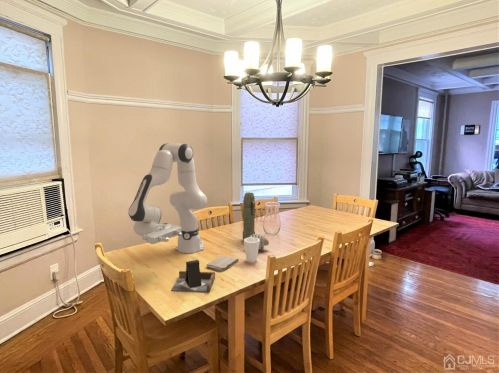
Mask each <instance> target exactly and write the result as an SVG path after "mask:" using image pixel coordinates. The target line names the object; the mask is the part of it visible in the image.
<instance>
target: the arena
mask: <svg viewBox="0 0 499 373" xmlns="http://www.w3.org/2000/svg"><path fill="white" fill-rule="evenodd" d="M185 274H186V270H179V272H178V278H177V279H176V281H175V283H174V285H173V286H172V288H171V290H170V291H171V292H186V293H187V292H188V293H206V294H207V293H208V294H209V293H211V290H212V287H213V284H214V283H215V282H214V281H215V279H216V271H212V272H211V271H200V276H201V284H202V286H197V287H193V288H190V287H189V286H188V284H187V283H186V282H185Z"/></svg>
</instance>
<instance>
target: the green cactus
mask: <svg viewBox="0 0 499 373" xmlns="http://www.w3.org/2000/svg"><path fill="white" fill-rule="evenodd" d="M255 200H256V199H255V194H254V193H253V192H245V193H244V196H243V200H242V202H243V206H242V207H243V209H242V218H243V219H242V220H243V221H242V222H243V226H242V227H243V229H242V230H243V231H242V242H243V241H244V239H245V238H249V237H250V235H252V236H253V234H255V235H256V231H255V223H256V222H255V219H256V201H255Z"/></svg>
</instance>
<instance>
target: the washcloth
mask: <svg viewBox="0 0 499 373" xmlns="http://www.w3.org/2000/svg"><path fill="white" fill-rule="evenodd" d="M239 261H240V260H239V258H237V257H230V256H226V255H221V256H218V257H217V258H215V259H214V260H212V261H210V262H207V263H206V269H209V270H212V271H215V272H222V273H223V272H224V271H226V270H228V269H229V268H231V267H232V266H234V265H236V264H237V263H238V262H239Z"/></svg>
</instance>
